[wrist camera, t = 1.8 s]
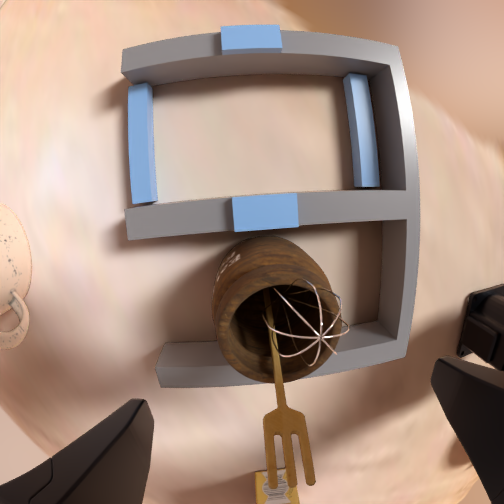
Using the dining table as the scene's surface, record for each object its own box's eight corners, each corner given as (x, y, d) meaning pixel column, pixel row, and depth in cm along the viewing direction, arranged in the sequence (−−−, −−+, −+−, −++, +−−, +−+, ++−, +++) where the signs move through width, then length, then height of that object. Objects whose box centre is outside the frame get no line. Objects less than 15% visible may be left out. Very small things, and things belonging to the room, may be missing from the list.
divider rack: (377, 62, 15) (402, 42, 11) (386, 337, 19) (409, 361, 15) (135, 69, 14) (115, 46, 11) (167, 362, 18) (155, 393, 15)
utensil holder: (315, 234, 17) (444, 312, 5) (305, 327, 18) (375, 473, 7) (217, 230, 17) (176, 319, 5) (216, 327, 18) (198, 489, 6)
